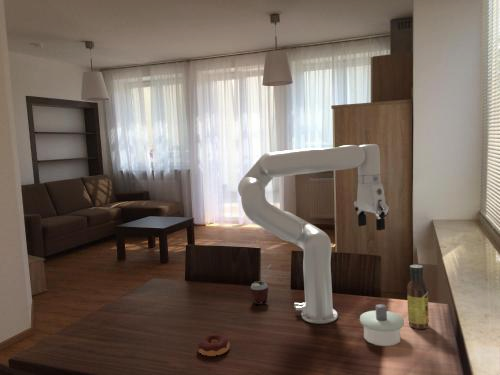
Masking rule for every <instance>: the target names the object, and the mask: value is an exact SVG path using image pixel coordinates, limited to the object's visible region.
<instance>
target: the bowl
mask: <svg viewBox="0 0 500 375" xmlns="http://www.w3.org/2000/svg"><path fill="white" fill-rule="evenodd" d="M363 338H364V339H365V340H366V341H367V342H368V343H370V344H372V345H375V346H381V347H388V346H389V347H390V346H395V345H397V344H398V343H400V342H401V328H400V329H398V330H395V331H376V330H371V329H368V328H366V327H364V326H363Z"/></svg>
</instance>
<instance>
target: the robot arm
mask: <svg viewBox="0 0 500 375" xmlns="http://www.w3.org/2000/svg"><path fill="white" fill-rule="evenodd" d="M380 151H381V150H380V147H379V145H378V144H376V143H372V144H371V143H369V144H360V145H355V144H348V145H347V144H345V145H340V146H337V147H328V148H327V147H325V148H324V147H322V148H313V147H311V148H307V147H306V148H300V149H293V150H292V149H290V150H282V151H273V152H271V151H270V152H266V153H264V154H263V155H261V156H260V157H259V159H258V160H257V161H256V162H255V163H254V165H252V167H251V168H250V169H249V170H248V171H247V172H246V173H245V175H244V176H243V177H242V178H241V180H240V181H239V183H238V186H237V192H238V194H239V196H240V197H241V198H240V199H241V200H240V201H241V207H242V210H243V212H244V214H245V216H246V217H247V218H248V219H249V220H250V221H251V222H252V223H254V224H255V225H257V226H259V227H261V228H262V229H264V230H266V231H267V232H269V233H271V234H273V235H275V236H277V237H278V238H279V239H281V240H282V241H285V242H290V243H292V244H294V245H295V246H297V247H299V248H301V249H302V251H303V260H302V262H303V264H302V267H303V270H302V272H303V283H304V284H303V286H304V302H301V303H300V302H294V304H293V307H294V309H295V311H301V318H302V319H303V320H304V321H306V322H307V323H311V324H320V325H322V324H328V323H329V324H330V323H332V322H334V321H336V320H337V319H338V312H337V311H336V310H335V309H334V308H333V306H334V305H333V287H332V285H333V284H332V272H331V270H332V268H331V262H332V261H331V257H332V242H331V238H330V236H329V235H328V234H327V233H326V232H325V231H323V230H322V229H320V228H319V227H317V226H316V225H314V224H312V223H310V222H308V221H306V220H305V219H303V218H301V217H299V216H297V215H295V214H294V213H291V212H290V211H284V210H282V209H280V208H279V207H277V206H276V205H273V204H272V203H270V202H269V201H268V200H267V198H266V187H267V186H268V185H269V183H271V181H272V180H273V178H280V177H281V178H282V177H288V176H295V175H304V174H305V175H306V174H316V173H322V172H331V171H332V172H333V171H341V170H349V169H350V170H351V169H355V168H357V177H358V178H357V179H358V184H357V191H356V192H357V194H356V196H357V197H356V200H355V201H354V202H353V205H354V210H355V211H356V215H357V222H358V223H357V224H358V227H363V226H366V225H367V214H366V213H372V214H375V216H376V219H375V221H376V222H375V223H376V224H375V225H376V226H375V227H376V231H383V230H385V229H386V222H385V219H386V218H387V215H388V212H389V209H390V206H388V205H387V204H386V196H385V189H384V185H383V184H382V183H381V182H382V178H381V157H380V156H381V155H380V154H381V153H380Z"/></svg>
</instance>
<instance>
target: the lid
mask: <svg viewBox="0 0 500 375" xmlns="http://www.w3.org/2000/svg"><path fill="white" fill-rule="evenodd" d="M387 307H388V306H387V305H386V304H376V305H375V310H369V311H366V312H363V313H361V314H360V317H359V323H360V324H361V325H362V326H363V328H364V327H366V328H368V329H371V330H376V331H395V330H398V329H400V330H401V329H402V328H403V327H404V326H405V320H404V317H403V316H402V315H400V314H398V313H396V312H393V311H390V310H389V311H388V309H387Z"/></svg>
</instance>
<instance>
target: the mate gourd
mask: <svg viewBox="0 0 500 375" xmlns="http://www.w3.org/2000/svg"><path fill="white" fill-rule="evenodd" d="M271 266H273V265H272V263H271V264H269V265H268V267H267V268H265V271H264V275H263V278H262V281H254V282H253V283H251V285H250V289H249V290H250V296H251V298H252V300H253V301H256V303H255V305H256V304H258V303H260V302H262V303H267V304H268V297H269V296H268V295H269V287H268V284H267V283H266V282H265V279H266V275H267V272H268V270H269V269H270V268H271Z"/></svg>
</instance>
